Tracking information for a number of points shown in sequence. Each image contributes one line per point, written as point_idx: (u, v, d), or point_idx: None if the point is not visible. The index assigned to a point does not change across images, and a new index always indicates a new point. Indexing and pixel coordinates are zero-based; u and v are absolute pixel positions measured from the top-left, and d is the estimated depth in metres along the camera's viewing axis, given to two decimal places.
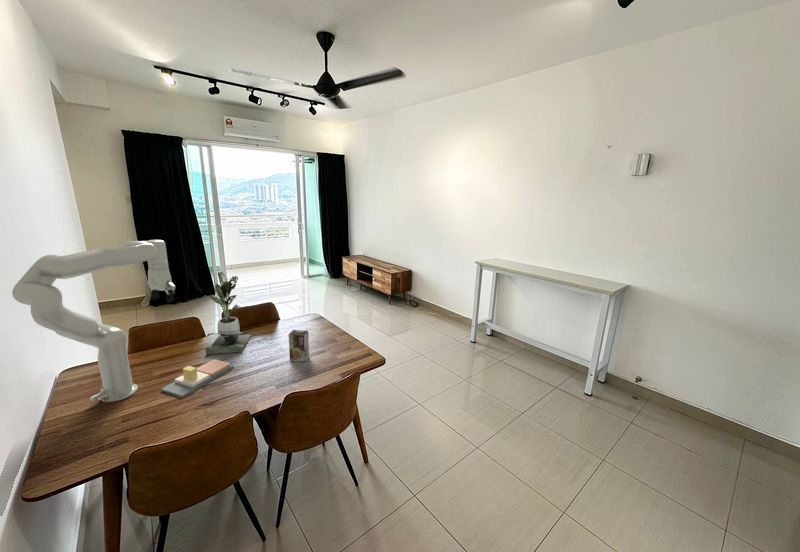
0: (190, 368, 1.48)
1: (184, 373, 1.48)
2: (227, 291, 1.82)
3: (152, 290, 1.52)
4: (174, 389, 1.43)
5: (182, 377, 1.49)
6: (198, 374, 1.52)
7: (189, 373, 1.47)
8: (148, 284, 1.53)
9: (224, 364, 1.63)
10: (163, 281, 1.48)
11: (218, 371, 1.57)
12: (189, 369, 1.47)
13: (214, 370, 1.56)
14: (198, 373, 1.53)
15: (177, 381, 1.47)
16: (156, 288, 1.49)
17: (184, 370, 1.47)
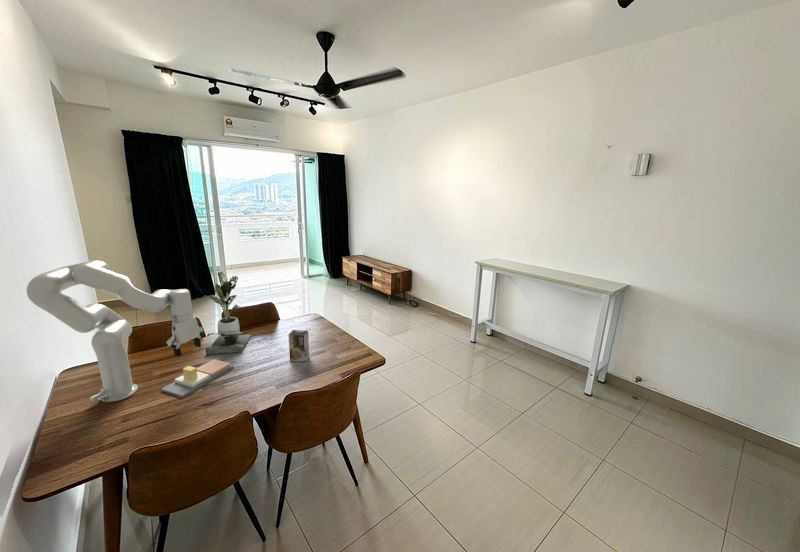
0: (190, 368, 1.48)
1: (184, 373, 1.48)
2: (227, 291, 1.82)
3: None
4: (174, 389, 1.43)
5: (182, 377, 1.49)
6: (198, 374, 1.52)
7: (189, 373, 1.47)
8: (170, 344, 1.37)
9: (224, 364, 1.63)
10: None
11: (218, 371, 1.57)
12: (189, 369, 1.47)
13: (214, 370, 1.56)
14: (198, 373, 1.53)
15: (177, 381, 1.47)
16: (192, 338, 1.44)
17: (184, 370, 1.47)
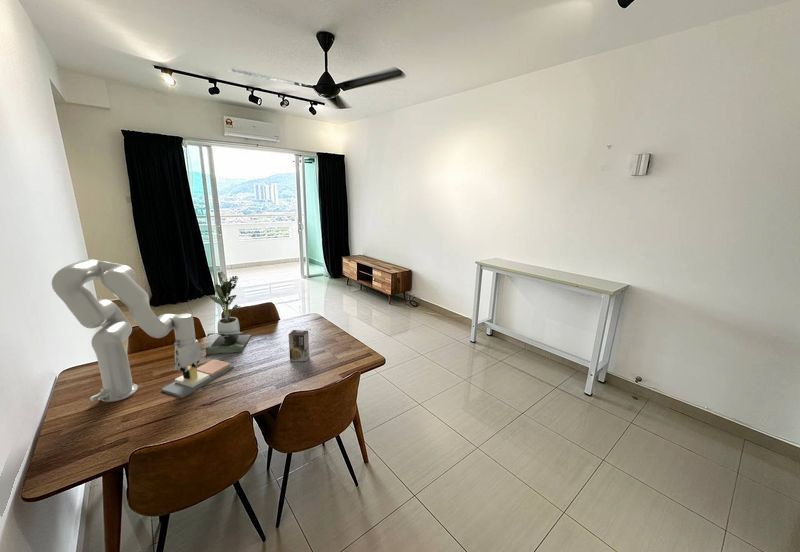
0: (190, 368, 1.48)
1: None
2: (227, 291, 1.82)
3: (187, 368, 1.46)
4: (174, 389, 1.43)
5: (182, 377, 1.49)
6: (198, 374, 1.52)
7: (189, 373, 1.47)
8: (178, 369, 1.42)
9: (224, 364, 1.63)
10: None
11: (218, 371, 1.57)
12: (189, 369, 1.47)
13: (214, 370, 1.56)
14: (198, 373, 1.53)
15: (177, 381, 1.47)
16: (194, 361, 1.47)
17: None
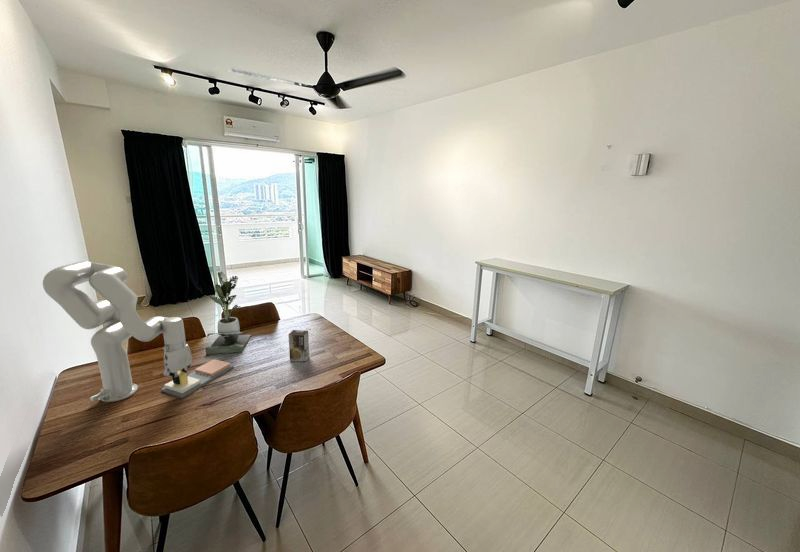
0: (180, 373, 1.44)
1: None
2: (227, 291, 1.82)
3: (177, 373, 1.41)
4: None
5: (172, 382, 1.45)
6: (189, 379, 1.48)
7: None
8: (168, 374, 1.38)
9: (224, 364, 1.63)
10: None
11: (218, 371, 1.57)
12: (179, 374, 1.43)
13: (214, 370, 1.56)
14: (189, 378, 1.48)
15: (167, 387, 1.43)
16: (184, 366, 1.42)
17: None
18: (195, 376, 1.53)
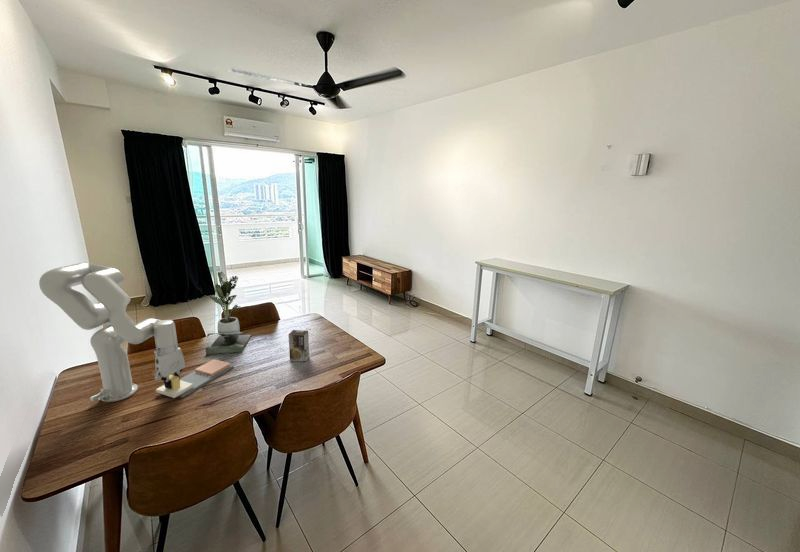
0: (172, 377, 1.40)
1: None
2: (227, 291, 1.82)
3: None
4: None
5: (164, 387, 1.41)
6: (181, 383, 1.44)
7: None
8: (159, 379, 1.34)
9: (224, 364, 1.63)
10: None
11: (218, 371, 1.57)
12: (171, 378, 1.39)
13: (214, 370, 1.56)
14: (181, 382, 1.45)
15: (158, 391, 1.39)
16: (176, 370, 1.39)
17: None
18: (195, 376, 1.53)
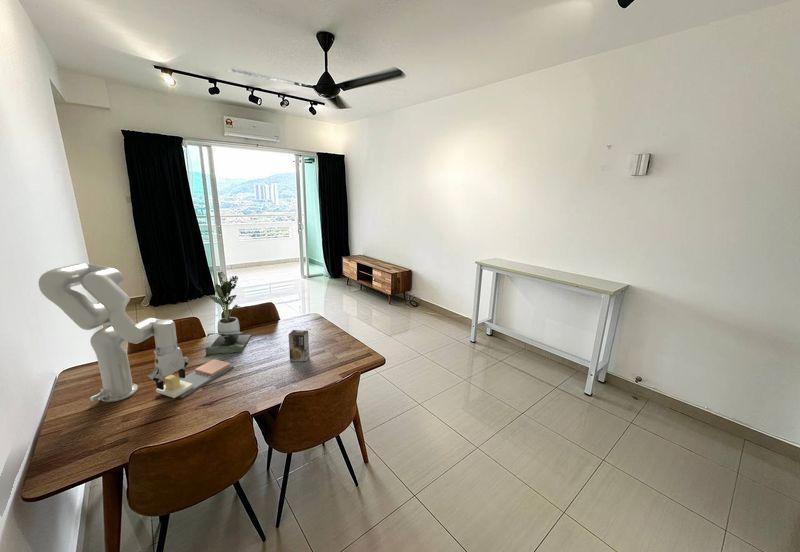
0: (172, 377, 1.40)
1: (166, 382, 1.40)
2: (227, 291, 1.82)
3: None
4: None
5: (164, 387, 1.41)
6: (181, 383, 1.44)
7: (170, 383, 1.39)
8: (152, 377, 1.32)
9: (224, 364, 1.63)
10: None
11: (218, 371, 1.57)
12: (171, 378, 1.39)
13: (214, 370, 1.56)
14: (181, 382, 1.45)
15: (158, 391, 1.39)
16: (176, 369, 1.39)
17: (166, 379, 1.39)
18: (195, 376, 1.53)
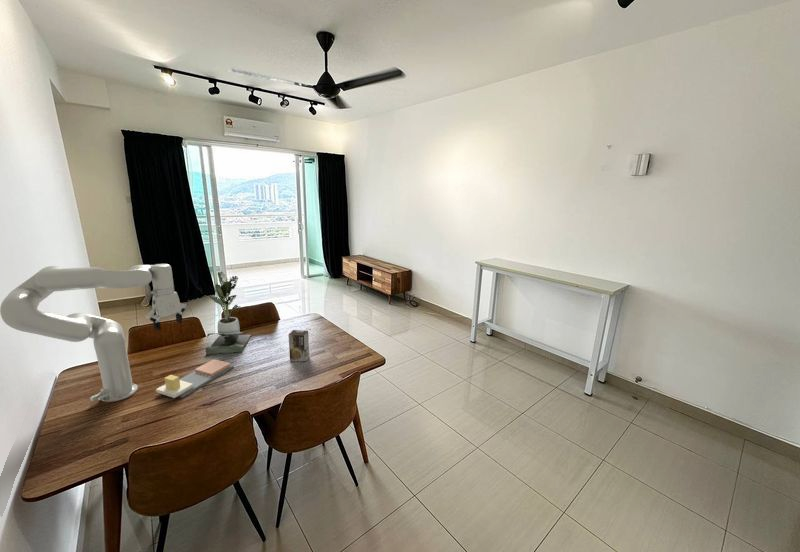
0: (172, 377, 1.40)
1: (166, 382, 1.40)
2: (227, 291, 1.82)
3: None
4: None
5: (164, 387, 1.41)
6: (181, 383, 1.44)
7: (170, 383, 1.39)
8: (149, 317, 1.39)
9: (224, 364, 1.63)
10: (179, 302, 1.49)
11: (218, 371, 1.57)
12: (171, 378, 1.39)
13: (214, 370, 1.56)
14: (181, 382, 1.45)
15: (158, 391, 1.39)
16: (172, 312, 1.46)
17: (166, 379, 1.39)
18: (195, 376, 1.53)
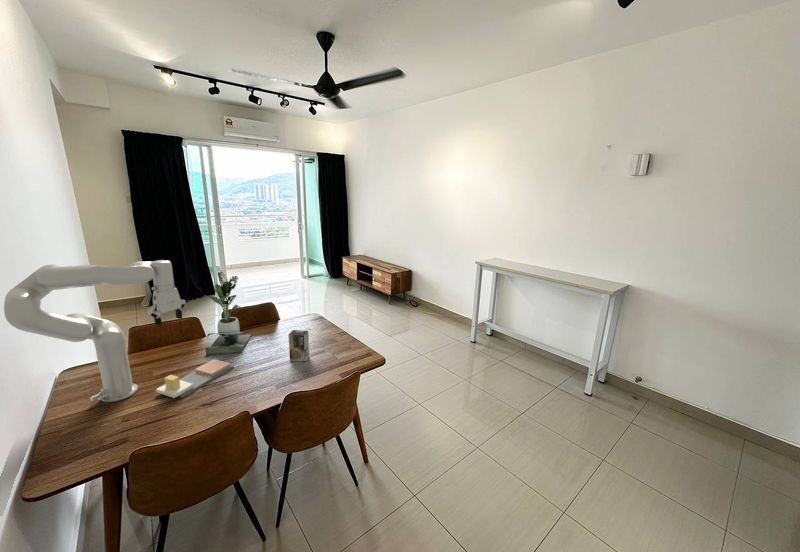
0: (172, 377, 1.40)
1: (166, 382, 1.40)
2: (227, 291, 1.82)
3: (159, 316, 1.44)
4: None
5: (164, 387, 1.41)
6: (181, 383, 1.44)
7: (170, 383, 1.39)
8: (150, 312, 1.40)
9: (224, 364, 1.63)
10: None
11: (218, 371, 1.57)
12: (171, 378, 1.39)
13: (214, 370, 1.56)
14: (181, 382, 1.45)
15: (158, 391, 1.39)
16: (173, 308, 1.47)
17: (166, 379, 1.39)
18: (195, 376, 1.53)
